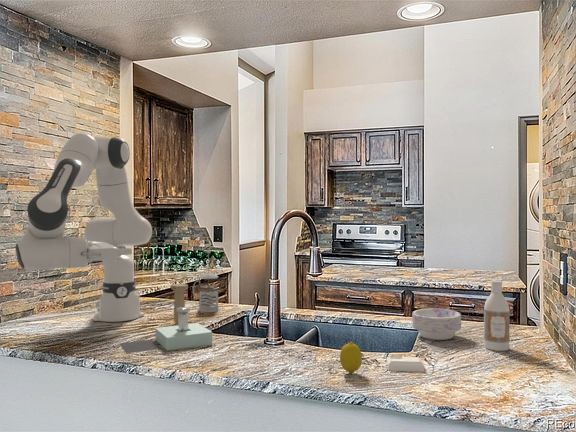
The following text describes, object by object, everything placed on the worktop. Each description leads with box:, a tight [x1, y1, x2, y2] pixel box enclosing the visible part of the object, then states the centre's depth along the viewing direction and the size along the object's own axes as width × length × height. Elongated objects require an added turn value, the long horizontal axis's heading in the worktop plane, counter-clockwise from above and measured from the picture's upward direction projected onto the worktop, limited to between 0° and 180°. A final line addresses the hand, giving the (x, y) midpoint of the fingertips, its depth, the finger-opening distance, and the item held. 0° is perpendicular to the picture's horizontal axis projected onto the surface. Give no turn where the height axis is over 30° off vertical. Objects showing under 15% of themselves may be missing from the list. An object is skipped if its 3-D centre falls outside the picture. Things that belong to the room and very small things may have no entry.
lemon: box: [339, 341, 363, 374], centre depth 124 cm, size 6×6×8 cm
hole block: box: [154, 322, 213, 351], centre depth 154 cm, size 14×14×4 cm
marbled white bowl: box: [411, 308, 462, 341], centre depth 160 cm, size 15×15×8 cm
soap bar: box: [386, 356, 425, 372], centre depth 128 cm, size 5×9×3 cm, turn 84°
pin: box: [177, 306, 191, 332], centre depth 154 cm, size 4×4×11 cm
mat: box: [118, 338, 162, 354], centre depth 150 cm, size 12×10×1 cm
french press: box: [192, 249, 221, 313], centre depth 206 cm, size 10×12×25 cm
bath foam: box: [483, 279, 511, 352], centre depth 146 cm, size 7×7×20 cm
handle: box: [170, 283, 189, 326], centre depth 175 cm, size 5×6×15 cm
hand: (128, 249), depth 150 cm, fingers open, 8 cm apart
